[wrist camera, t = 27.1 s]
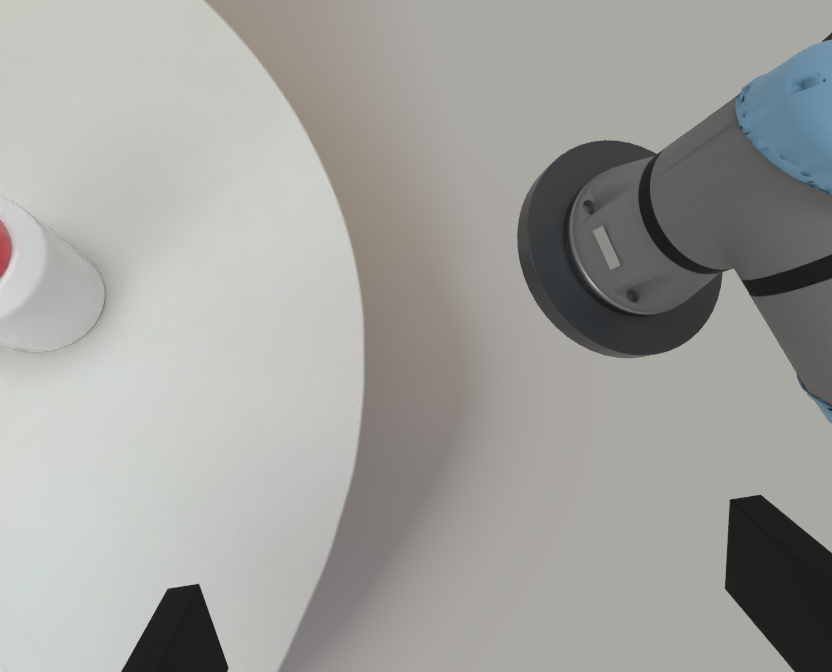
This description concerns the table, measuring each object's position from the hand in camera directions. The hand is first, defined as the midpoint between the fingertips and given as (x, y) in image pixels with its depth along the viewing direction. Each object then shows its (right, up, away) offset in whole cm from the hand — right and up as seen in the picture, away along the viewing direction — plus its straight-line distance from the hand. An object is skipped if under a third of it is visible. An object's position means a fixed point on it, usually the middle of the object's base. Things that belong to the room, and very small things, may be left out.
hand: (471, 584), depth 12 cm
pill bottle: (-27, +9, +21) cm, 36 cm away
